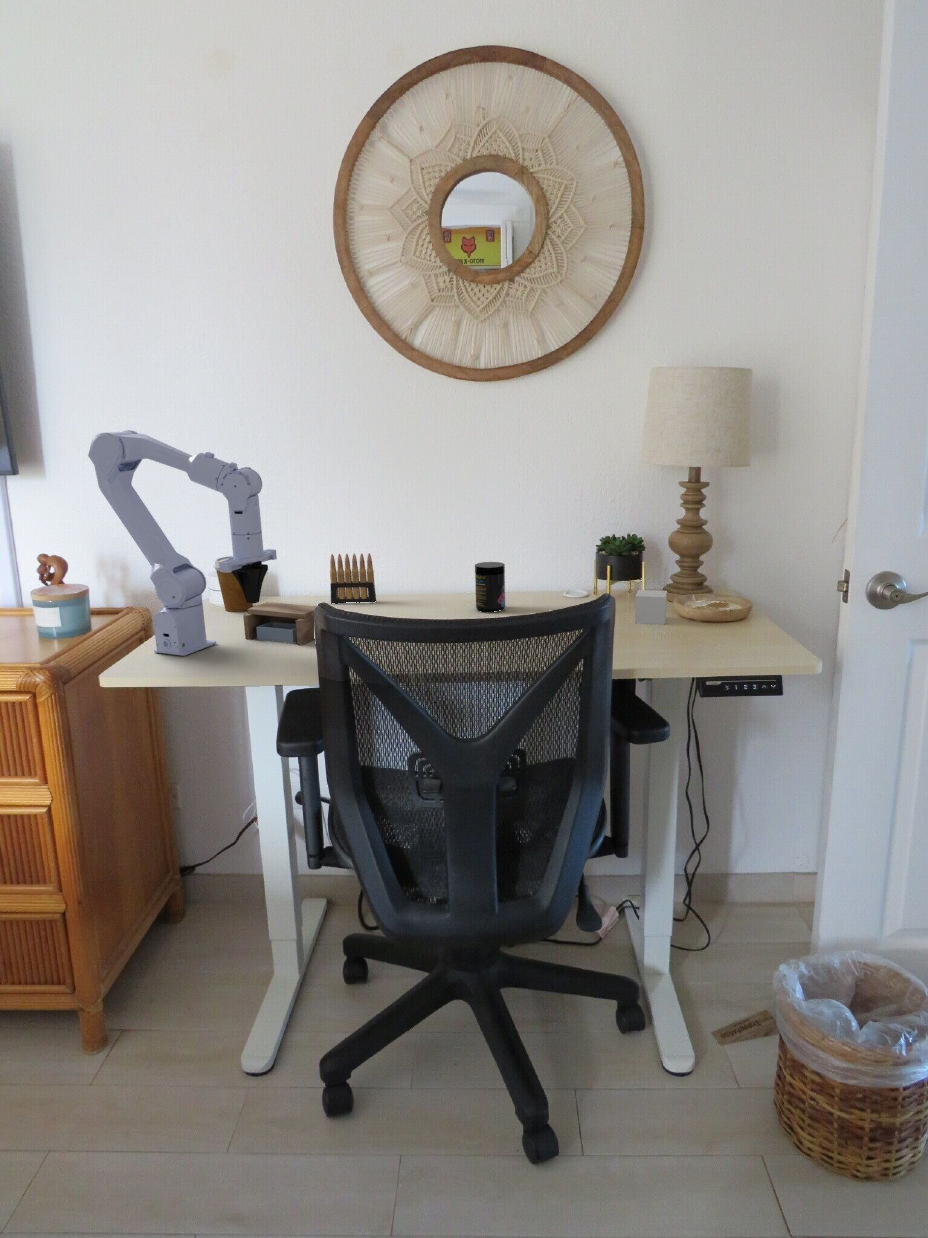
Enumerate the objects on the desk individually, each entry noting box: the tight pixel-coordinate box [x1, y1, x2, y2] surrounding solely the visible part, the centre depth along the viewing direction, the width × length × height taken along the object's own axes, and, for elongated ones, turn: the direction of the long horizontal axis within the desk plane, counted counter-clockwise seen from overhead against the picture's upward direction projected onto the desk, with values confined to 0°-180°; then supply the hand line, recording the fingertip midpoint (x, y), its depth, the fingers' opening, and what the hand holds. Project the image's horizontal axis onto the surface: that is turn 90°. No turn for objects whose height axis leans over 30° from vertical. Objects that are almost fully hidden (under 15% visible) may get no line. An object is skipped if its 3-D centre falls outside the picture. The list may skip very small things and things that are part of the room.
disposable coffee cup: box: [213, 555, 254, 613], centre depth 202 cm, size 10×10×12 cm
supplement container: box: [474, 561, 506, 613], centre depth 194 cm, size 7×7×10 cm
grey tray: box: [256, 621, 297, 644], centre depth 176 cm, size 5×9×3 cm, turn 65°
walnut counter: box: [242, 601, 316, 646], centre depth 177 cm, size 8×14×6 cm, turn 65°
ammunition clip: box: [329, 553, 377, 605], centre depth 204 cm, size 11×2×12 cm, turn 88°
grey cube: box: [634, 589, 668, 626], centre depth 181 cm, size 6×6×6 cm
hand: (252, 602), depth 167 cm, fingers closed
